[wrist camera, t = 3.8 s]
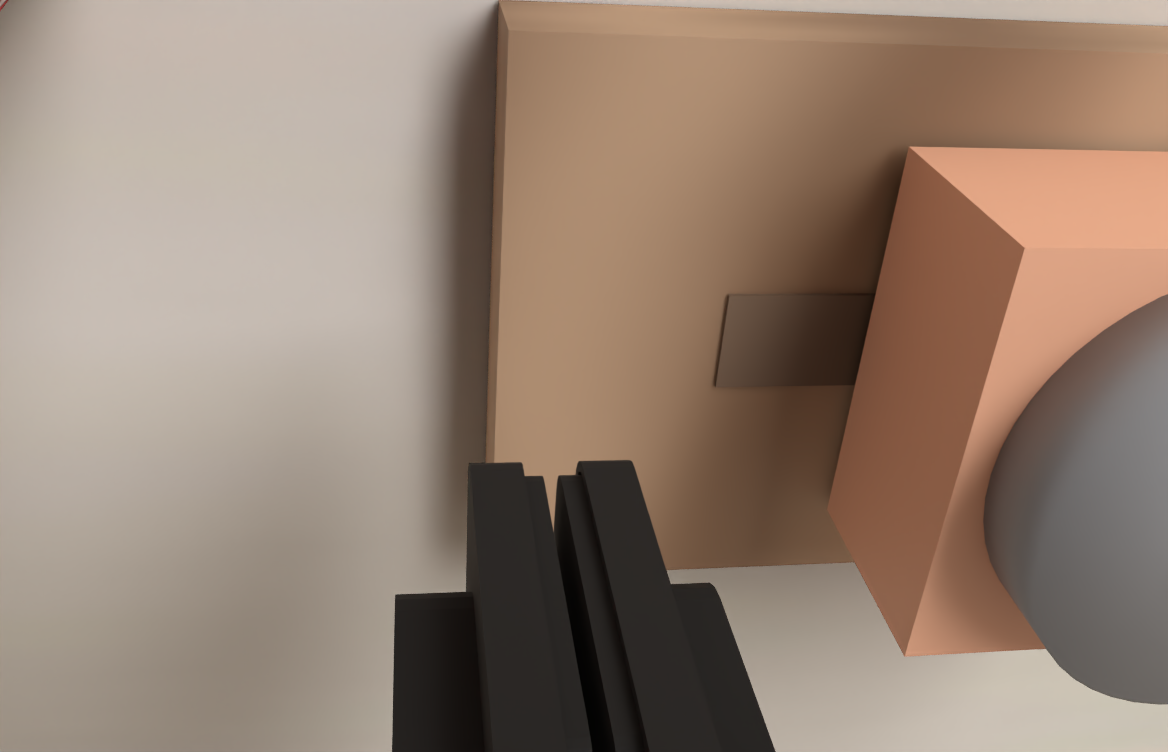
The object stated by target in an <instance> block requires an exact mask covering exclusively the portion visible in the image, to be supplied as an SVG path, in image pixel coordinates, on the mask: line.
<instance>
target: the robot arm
mask: <svg viewBox="0 0 1168 752" xmlns="http://www.w3.org/2000/svg"><path fill="white" fill-rule="evenodd" d="M392 752H775V749H774V747H773V744H772V741H771V738H770V735H769V733H768V730H767V727H766V724H765V722H764V719H763V716H762V713H761V710H760V708H759V705H758V702H757V699H756V697H755V694H754V691H753V688H752V685H751V683H750V680H749V677H748V674H747V672H746V669H745V666H744V663H743V660H742V658H741V655H740V652H739V649H738V647H737V644H736V641H735V638H734V635H733V633H732V630H731V627H730V624H729V622H728V619H727V616H726V613H725V610H724V608H723V605H722V602H721V599H720V597H719V595H718V593H717V591H716V589H715V587H714V586H713V585H712V584H710V583H692V584H670V581H669V577H668V574H667V571H666V568H665V564H664V561H663V558H662V555H661V551H660V548H659V545H658V542H657V538H656V535H655V532H654V529H653V525H652V522H651V519H650V516H649V512H648V509H647V506H646V503H645V499H644V496H643V493H642V490H641V486H640V483H639V480H638V477H637V473H636V470H635V467H634V465H633V462H632V461H631V460H601V461H579V462H578V463H577V467H576V474H575V475H559V476H558V479H557V487H556V502H555V517H554V532H553V526H552V521H551V515H550V509H549V504H548V498H547V493H546V487H545V482H544V478H543V476H525V474H524V468H523V464H522V462H504V463H469V469H468V510H467V567H466V592H453V593H427V594H400V595H395V630H394V683H393V737H392Z"/></svg>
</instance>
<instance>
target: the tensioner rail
mask: <svg viewBox="0 0 1168 752" xmlns="http://www.w3.org/2000/svg"><path fill="white" fill-rule="evenodd" d="M909 147H958V148H1008V149H1058V150H1108V151H1158V152H1168V26H1147V25H1122V24H1097V23H1071V22H1046V21H1020V20H995V19H969V18H944V17H919V16H893V15H868V14H842V13H817V12H792V11H766V10H741V9H715V8H690V7H665V6H639V5H614V4H588V3H563V2H538V1H512V0H499V7H498V42H497V77H496V111H495V146H494V181H493V215H492V250H491V285H490V320H489V354H488V389H487V424H486V459H485V463H504V462H522V464H523V468H524V474H525V476H543V478H544V482H545V487H546V493H547V498H548V504H549V509H550V515H551V521H552V526H553V532H554V517H555V502H556V487H557V479H558V476H559V475H575V474H576V467H577V463H578V462H579V461H601V460H631V461H632V462H633V465H634V467H635V470H636V473H637V477H638V480H639V483H640V486H641V490H642V493H643V496H644V499H645V503H646V506H647V509H648V512H649V516H650V519H651V522H652V525H653V529H654V532H655V535H656V538H657V542H658V545H659V548H660V551H661V555H662V558H663V561H664V564H665V568H666V570H676V569H700V568H724V567H748V566H773V565H797V564H821V563H846V562H854V560H853V558H852V556H851V554H850V552H849V550H848V548H847V547H846V545H845V543H844V541H843V539H842V537H841V535H840V533H839V531H838V530H837V528H836V526H835V524H834V522H833V520H832V518H831V516H830V514H829V512H828V511H827V507H828V503H829V499H830V494H831V490H832V485H833V481H834V476H835V472H836V468H837V463H838V459H839V454H840V450H841V445H842V441H843V436H844V432H845V428H846V423H847V419H848V414H849V410H850V405H851V401H852V397H853V392H854V388H855V383H856V379H857V374H858V370H859V366H860V361H861V357H862V352H863V348H864V343H865V339H866V334H867V330H868V326H869V321H870V317H871V312H872V308H873V303H874V299H875V295H876V290H877V286H878V281H879V277H880V272H881V268H882V264H883V259H884V255H885V250H886V246H887V241H888V237H889V233H890V228H891V224H892V219H893V215H894V210H895V206H896V201H897V197H898V193H899V188H900V184H901V179H902V175H903V170H904V166H905V162H906V157H907V153H908V148H909Z"/></svg>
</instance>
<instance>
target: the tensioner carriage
mask: <svg viewBox="0 0 1168 752" xmlns="http://www.w3.org/2000/svg"><path fill="white" fill-rule="evenodd" d="M827 511H828V512H829V514H830V516H831V518H832V520H833V522H834V524H835V526H836V528H837V530H838V531H839V533H840V535H841V537H842V539H843V541H844V543H845V545H846V547H847V548H848V550H849V552H850V554H851V556H852V558H853V560H854V562H855V564H856V566H857V567H858V569H859V571H860V573H861V575H862V577H863V579H864V581H865V583H866V584H867V586H868V588H869V590H870V592H871V594H872V596H873V598H874V600H875V601H876V603H877V605H878V607H879V609H880V611H881V613H882V615H883V617H884V619H885V620H886V622H887V624H888V626H889V628H890V630H891V632H892V634H893V636H894V637H895V639H896V641H897V643H898V645H899V647H900V649H901V651H902V653H903V655H904V656H922V655H940V654H958V653H976V652H994V651H1012V650H1030V649H1047V651H1048V652H1049V653H1050V654H1051V656H1052V657H1053V658H1054V660H1055V661H1056V662H1057V664H1058V665H1059V666H1060V667H1061V668H1062V669H1063V670H1065V671H1066V672H1067V673H1068V674H1069V675H1070V676H1071V677H1073V678H1074V679H1075V680H1077V681H1079V682H1080V683H1082V684H1084V685H1085V686H1087V687H1089V688H1090V689H1092V690H1095V691H1098V692H1100V693H1103V694H1105V695H1108V696H1110V697H1114V698H1118V699H1123V700H1127V701H1132V702H1139V703H1149V704H1168V152H1158V151H1108V150H1058V149H1008V148H958V147H909V148H908V153H907V157H906V162H905V166H904V170H903V175H902V179H901V184H900V188H899V193H898V197H897V201H896V206H895V210H894V215H893V219H892V224H891V228H890V233H889V237H888V241H887V246H886V250H885V255H884V259H883V264H882V268H881V272H880V277H879V281H878V286H877V290H876V295H875V299H874V303H873V308H872V312H871V317H870V321H869V326H868V330H867V334H866V339H865V343H864V348H863V352H862V357H861V361H860V366H859V370H858V374H857V379H856V383H855V388H854V392H853V397H852V401H851V405H850V410H849V414H848V419H847V423H846V428H845V432H844V436H843V441H842V445H841V450H840V454H839V459H838V463H837V468H836V472H835V476H834V481H833V485H832V490H831V494H830V499H829V503H828V507H827Z"/></svg>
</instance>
